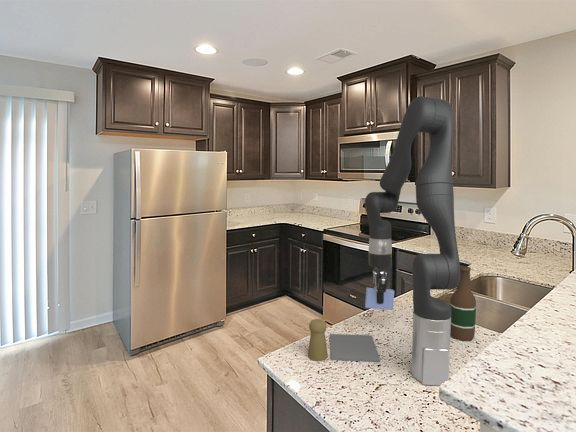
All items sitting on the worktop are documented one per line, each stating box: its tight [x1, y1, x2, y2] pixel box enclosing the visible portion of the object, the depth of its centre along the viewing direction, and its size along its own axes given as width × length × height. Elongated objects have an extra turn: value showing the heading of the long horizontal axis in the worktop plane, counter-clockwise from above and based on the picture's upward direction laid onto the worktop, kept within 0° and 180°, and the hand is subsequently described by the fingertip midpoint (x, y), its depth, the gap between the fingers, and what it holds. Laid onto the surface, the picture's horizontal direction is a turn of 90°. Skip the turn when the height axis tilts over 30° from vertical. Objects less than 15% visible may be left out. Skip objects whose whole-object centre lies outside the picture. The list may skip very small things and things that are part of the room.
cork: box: [307, 318, 329, 362], centre depth 102 cm, size 6×6×11 cm
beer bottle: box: [449, 265, 477, 342], centre depth 114 cm, size 8×8×24 cm
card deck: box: [364, 286, 396, 311], centre depth 116 cm, size 2×9×6 cm, turn 85°
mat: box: [329, 333, 381, 363], centre depth 107 cm, size 16×14×1 cm
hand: (379, 301), depth 116 cm, fingers closed on card deck, 1 cm apart
